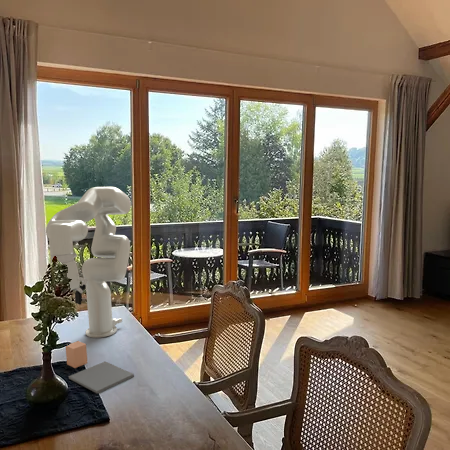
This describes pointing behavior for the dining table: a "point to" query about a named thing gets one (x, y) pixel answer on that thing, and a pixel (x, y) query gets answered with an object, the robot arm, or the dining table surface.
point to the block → (76, 354)
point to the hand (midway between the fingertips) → (65, 306)
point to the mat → (101, 377)
